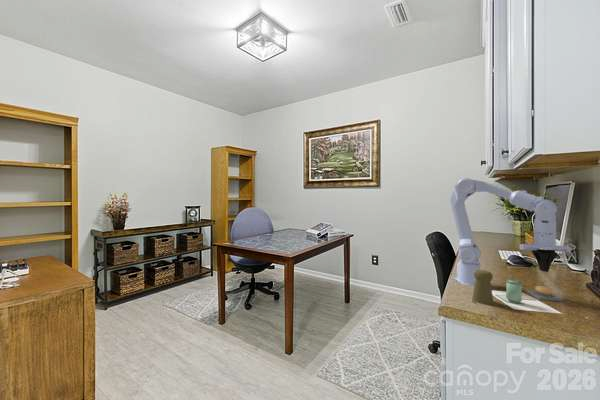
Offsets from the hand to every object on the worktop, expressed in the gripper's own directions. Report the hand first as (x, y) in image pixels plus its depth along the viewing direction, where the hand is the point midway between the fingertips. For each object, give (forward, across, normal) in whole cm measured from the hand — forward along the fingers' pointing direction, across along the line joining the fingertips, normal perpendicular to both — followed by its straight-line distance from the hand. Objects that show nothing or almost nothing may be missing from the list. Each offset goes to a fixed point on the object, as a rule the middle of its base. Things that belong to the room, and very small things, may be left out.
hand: (544, 271), depth 91 cm
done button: (+8, 0, 0) cm, 8 cm away
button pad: (+10, 0, 0) cm, 10 cm away
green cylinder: (+9, -14, -9) cm, 19 cm away
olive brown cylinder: (+10, -24, -10) cm, 28 cm away
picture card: (+10, -11, -6) cm, 16 cm away
